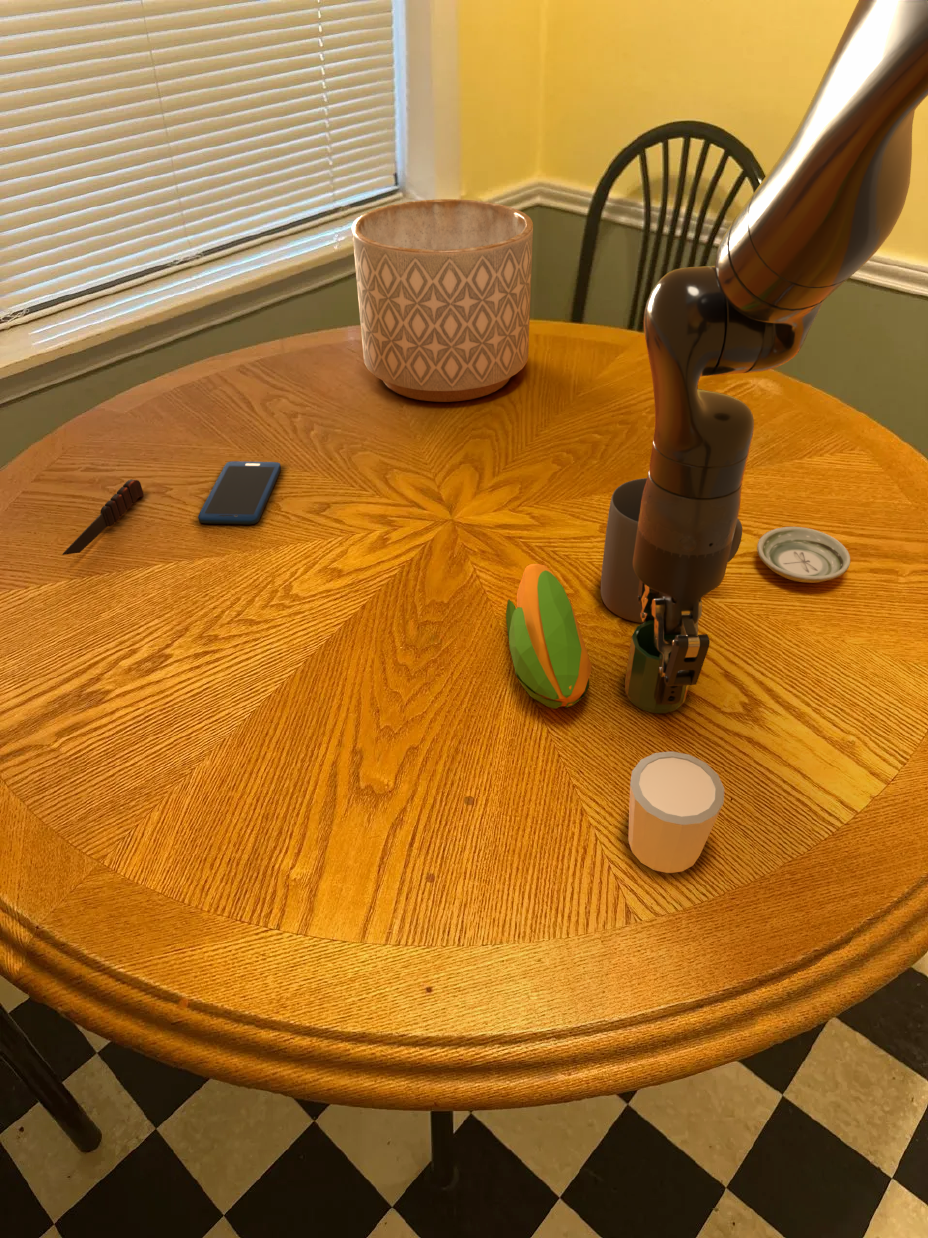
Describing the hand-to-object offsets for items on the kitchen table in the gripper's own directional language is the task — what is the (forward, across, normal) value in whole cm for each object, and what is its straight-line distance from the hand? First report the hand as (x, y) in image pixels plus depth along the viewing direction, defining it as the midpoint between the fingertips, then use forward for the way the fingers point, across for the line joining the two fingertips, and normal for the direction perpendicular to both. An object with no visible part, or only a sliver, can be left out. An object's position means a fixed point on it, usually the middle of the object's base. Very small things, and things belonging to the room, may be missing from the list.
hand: (658, 676), depth 79 cm
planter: (+2, +72, +17) cm, 74 cm away
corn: (+2, +6, +10) cm, 12 cm away
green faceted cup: (+2, 0, 0) cm, 2 cm away
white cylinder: (+2, -17, +3) cm, 17 cm away
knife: (+2, +31, +59) cm, 66 cm away
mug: (+2, +14, -4) cm, 15 cm away
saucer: (+2, +18, -20) cm, 27 cm away
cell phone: (+2, +38, +44) cm, 58 cm away
